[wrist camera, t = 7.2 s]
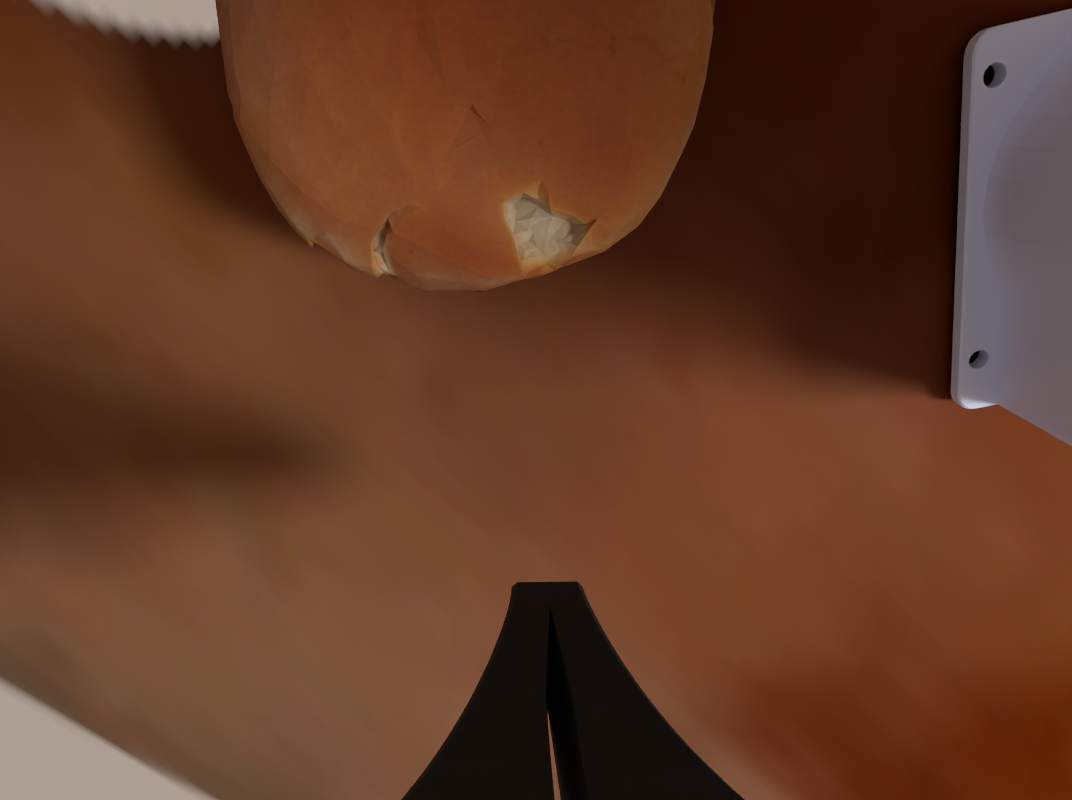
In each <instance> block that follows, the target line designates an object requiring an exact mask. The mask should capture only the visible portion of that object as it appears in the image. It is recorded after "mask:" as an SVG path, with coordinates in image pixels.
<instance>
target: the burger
mask: <svg viewBox="0 0 1072 800" xmlns="http://www.w3.org/2000/svg"><path fill="white" fill-rule="evenodd" d="M714 7H715V0H216V8H217V16H218V24H219V31H220V39H221V47H222V54H223V62H224V70H225V77H226V85H227V92H228V96H229V99H230V101H231V104H232V107H233V119H234V121H235V123H236V126H237V128H238V130H239V133H240V135H241V138H242V140H243V142H244V145H245V147H246V149H247V152H248V154H249V156H250V158H251V160H252V163H253V165H254V167H255V169H256V171H257V174H258V176H259V178H260V180H261V181H262V183H263V185H264V187H265V188H266V190H267V192H268V194H269V195H270V197H271V199H272V200H273V202H274V204H275V206H276V207H277V209H278V210H279V211H280V213H281V214H282V215H283V216H284V218H285V219H286V220H287V222H288V223H289V224H290V226H291V227H292V228H293V229H294V231H295V232H296V233H297V234H298V235H299V236H300V237H301V238H302V239H303V240H304V241H305V242H306V243H307V244H308V245H309V246H310V247H311V248H312V247H313V246H314V245H315V244H318V245H319V246H321V247H323V248H324V249H326V250H327V251H329V252H330V253H332V254H333V255H335V256H336V257H337V258H339V259H340V260H341V261H343V262H344V263H345V264H346V265H348V266H349V267H350V268H351V269H354V270H356V271H359V272H361V273H364V274H366V275H368V276H371V277H373V278H377V277H379V276H380V275H382V274H386V275H388V276H390V277H391V278H393V279H394V280H396V281H397V282H399V283H402V284H405V285H408V286H411V287H415V288H418V289H421V290H424V291H427V292H429V291H435V290H439V291H454V290H473V291H476V292H481V291H486V290H489V289H493V288H497V287H501V286H504V285H506V284H509V283H513V282H516V281H519V280H523V279H530V278H538V277H540V276H543V275H545V274H548V273H550V272H553V271H555V270H557V269H559V268H561V267H564V266H568V265H571V264H573V263H576V262H578V261H581V260H584V259H586V258H589V257H591V256H594V255H597V254H599V253H602V252H604V251H606V250H607V249H608V248H610V247H611V246H612V245H614V244H615V243H616V242H618V241H619V240H620V239H622V238H623V237H625V236H626V235H627V234H629V233H630V232H631V231H633V230H634V229H635V228H637V227H638V226H639V225H640V223H641V222H642V221H643V219H644V218H645V217H646V215H647V214H648V213H649V211H650V210H651V209H652V207H653V206H654V205H655V204H656V202H657V201H658V200H659V198H660V197H661V195H662V193H663V191H664V189H665V187H666V185H667V183H668V181H669V179H670V177H671V174H672V172H673V170H674V168H675V166H676V164H677V162H678V160H679V158H680V156H681V154H682V152H683V149H684V147H685V145H686V143H687V140H688V138H689V136H690V134H691V131H692V129H693V127H694V124H695V120H696V116H697V112H698V108H699V104H700V100H701V96H702V92H703V88H704V84H705V80H706V74H707V67H708V61H709V55H710V48H711V42H712V35H713V29H714V28H713V19H712V18H713V14H714Z"/></svg>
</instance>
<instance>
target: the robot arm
mask: <svg viewBox="0 0 1072 800" xmlns="http://www.w3.org/2000/svg"><path fill="white" fill-rule="evenodd" d="M989 65H991V66H992V67H993V68H994V73H995V74H994V78H993V81H992V82H991V83H990V84H989V86H986V85H985V84H984V81H983V76H984V72H985V70H986V69H987V68H988V66H989ZM977 351H979V354H978V358H977V359H976V360H975V361H974V362H972V363H969V359H970V357H971V355H972V354H973V353H974V352H977ZM951 396H952V399H953V400H954V401H955V402H956V403H957V404H959V405H960V406H962V407H964V408H967V409H976V408H981V407H986V406H991V405H996V404H998V405H1000V406H1002V407H1003V408H1005V409H1007V410H1009V411H1010V412H1012V413H1014V414H1016V415H1018V416H1019V417H1021V418H1023V419H1025V420H1026V421H1028V422H1030V423H1032V424H1033V425H1035V426H1037V427H1039V428H1040V429H1042V430H1044V431H1046V432H1047V433H1049V434H1051V435H1053V436H1055V437H1056V438H1058V439H1060V440H1062V441H1063V442H1065V443H1067V444H1069V445H1070V446H1072V9H1067V10H1063V11H1059V12H1054V13H1050V14H1046V15H1041V16H1037V17H1033V18H1028V19H1024V20H1020V21H1016V22H1011V23H1007V24H1003V25H998V26H994V27H990V28H986V29H984V30H982V31H979V32H978V33H977V34H976V35H975V36H973V37H972V38H971V40H970V41H969V43H968V45H967V47H966V49H965V54H964V63H963V89H962V115H961V140H960V166H959V192H958V217H957V243H956V269H955V294H954V320H953V346H952V372H951ZM547 713H548V714H549V721H550V728H551V735H552V742H553V749H554V756H555V763H556V769H557V776H558V783H559V790H560V797H561V800H744V799H743V798H742V797H741V796H740V795H739V794H737V793H736V792H735V791H734V790H733V789H732V788H731V787H730V786H729V785H728V784H727V783H726V782H725V781H723V780H722V779H721V778H720V777H719V776H718V775H717V774H716V773H715V772H714V771H713V770H712V769H711V768H710V767H709V766H708V765H707V764H706V763H705V762H704V761H703V760H702V759H701V758H700V757H699V756H698V755H697V754H696V753H695V752H694V751H693V750H692V749H691V748H690V747H689V746H688V745H687V744H686V742H685V741H684V740H683V739H682V738H681V737H680V736H679V735H678V734H677V733H676V731H675V730H674V729H673V728H672V727H671V726H670V724H669V723H668V722H667V721H666V720H665V719H664V717H663V716H662V715H661V714H660V713H659V711H658V710H657V709H656V708H655V706H654V705H653V704H652V703H651V701H650V700H649V699H648V697H647V696H646V695H645V693H644V692H643V691H642V689H641V688H640V686H639V685H638V684H637V682H636V681H635V679H634V678H633V677H632V675H631V674H630V672H629V671H628V669H627V668H626V666H625V665H624V663H623V662H622V660H621V659H620V657H619V656H618V654H617V652H616V651H615V649H614V648H613V646H612V644H611V643H610V641H609V639H608V638H607V636H606V634H605V633H604V631H603V629H602V627H601V625H600V624H599V622H598V620H597V618H596V616H595V614H594V612H593V610H592V608H591V606H590V604H589V602H588V600H587V597H586V595H585V593H584V590H583V587H582V586H581V585H580V584H579V583H578V582H517V583H516V584H515V585H514V586H512V590H511V598H510V603H509V607H508V611H507V615H506V618H505V621H504V624H503V627H502V630H501V633H500V635H499V638H498V640H497V643H496V645H495V648H494V650H493V653H492V655H491V658H490V660H489V662H488V664H487V666H486V668H485V670H484V673H483V675H482V677H481V679H480V681H479V683H478V685H477V687H476V689H475V691H474V693H473V695H472V697H471V698H470V700H469V702H468V704H467V706H466V708H465V709H464V711H463V713H462V715H461V716H460V718H459V720H458V721H457V723H456V724H455V726H454V728H453V729H452V731H451V733H450V734H449V736H448V737H447V739H446V740H445V742H444V743H443V745H442V746H441V748H440V749H439V751H438V752H437V754H436V755H435V757H434V758H433V759H432V761H431V762H430V764H429V765H428V766H427V768H426V769H425V771H424V772H423V773H422V775H421V776H420V777H419V778H418V780H417V781H416V782H415V783H414V785H413V786H412V787H411V788H410V790H409V791H408V792H407V793H406V795H405V796H404V797H403V798H402V800H554V789H553V779H552V768H551V756H550V745H549V733H548V720H547Z"/></svg>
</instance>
